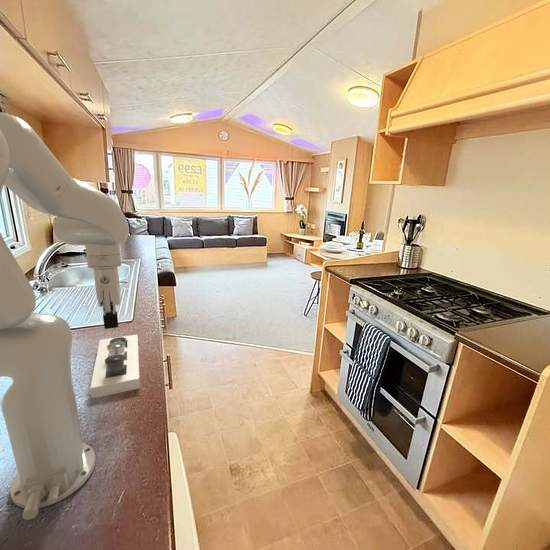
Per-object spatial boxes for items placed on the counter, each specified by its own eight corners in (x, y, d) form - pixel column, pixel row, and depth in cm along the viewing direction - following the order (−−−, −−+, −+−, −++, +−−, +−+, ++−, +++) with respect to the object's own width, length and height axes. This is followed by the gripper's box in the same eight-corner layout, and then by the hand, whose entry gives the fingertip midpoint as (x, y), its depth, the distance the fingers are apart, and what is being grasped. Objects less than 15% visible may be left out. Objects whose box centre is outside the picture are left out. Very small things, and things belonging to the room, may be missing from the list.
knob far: (127, 354, 94) (126, 342, 93) (110, 357, 92) (109, 345, 91) (127, 347, 98) (126, 336, 97) (111, 349, 96) (110, 338, 95)
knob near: (125, 374, 80) (124, 361, 79) (106, 378, 78) (104, 365, 77) (126, 365, 84) (124, 352, 83) (107, 369, 82) (105, 356, 81)
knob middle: (126, 360, 87) (124, 347, 86) (108, 363, 85) (106, 350, 84) (126, 352, 91) (125, 340, 90) (109, 355, 89) (107, 343, 88)
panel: (140, 388, 80) (139, 378, 79) (91, 398, 75) (90, 388, 74) (138, 342, 102) (137, 334, 101) (101, 348, 98) (99, 339, 97)
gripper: (120, 265, 72) (126, 336, 77) (121, 254, 85) (127, 315, 90) (83, 267, 69) (92, 341, 73) (90, 255, 82) (98, 318, 87)
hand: (111, 326), depth 82 cm, fingers closed
